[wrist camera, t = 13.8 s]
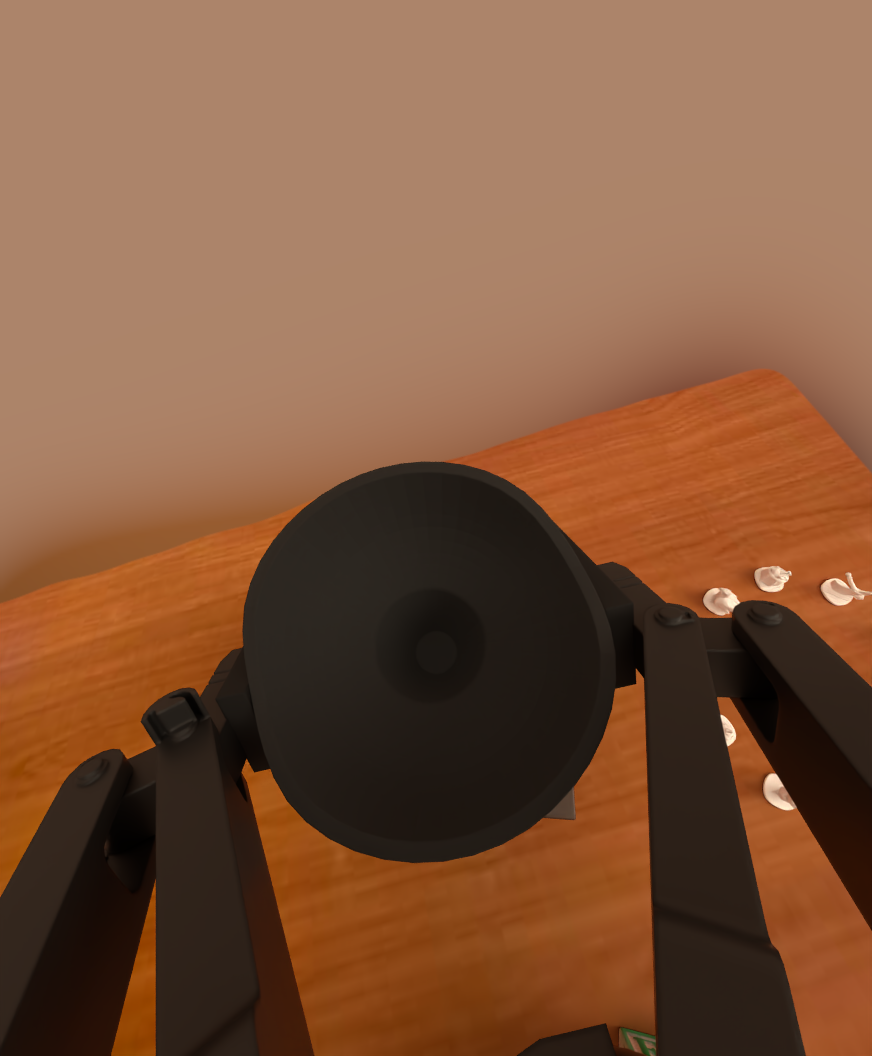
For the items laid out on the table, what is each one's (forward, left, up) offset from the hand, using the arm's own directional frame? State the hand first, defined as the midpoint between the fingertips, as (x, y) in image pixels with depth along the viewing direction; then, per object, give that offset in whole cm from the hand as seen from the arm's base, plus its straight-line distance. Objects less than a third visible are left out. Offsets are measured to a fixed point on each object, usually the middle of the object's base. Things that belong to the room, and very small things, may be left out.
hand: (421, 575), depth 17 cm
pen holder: (+1, -3, -4) cm, 5 cm away
